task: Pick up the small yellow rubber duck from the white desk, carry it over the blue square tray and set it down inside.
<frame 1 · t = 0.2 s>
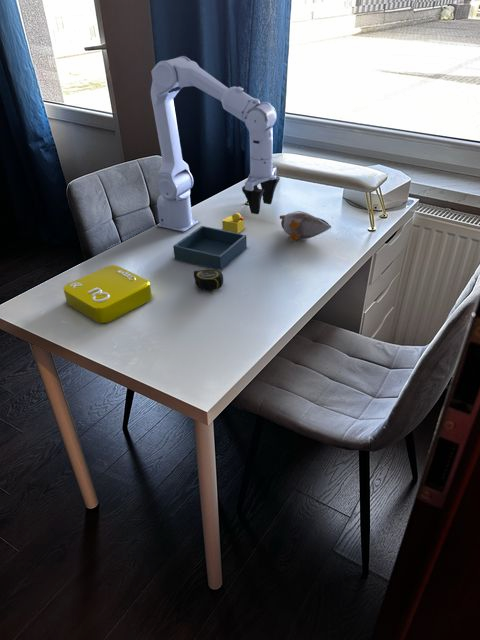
hand: (261, 208, 136), 10 cm above the table, tool pointing down, fingers open, 7 cm apart
rubber duck: (233, 229, 148), on the table
blue square tray: (211, 253, 136), on the table
decorative duck model: (303, 235, 146), on the table
tape measure: (208, 286, 123), on the table
element tile: (110, 301, 118), on the table
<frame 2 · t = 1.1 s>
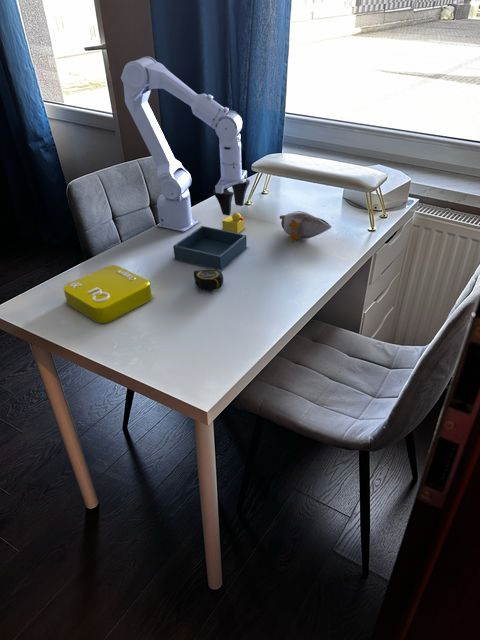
hand: (232, 209, 144), 6 cm above the table, tool pointing down, fingers open, 7 cm apart
nothing on the table moved.
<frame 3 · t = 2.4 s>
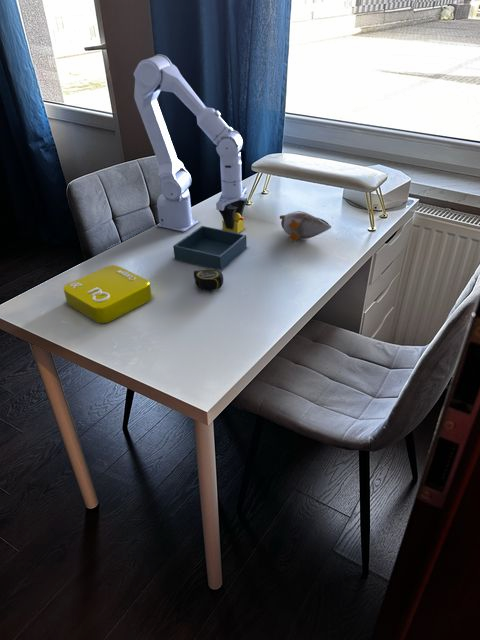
hand: (233, 225, 147), 1 cm above the table, tool pointing down, fingers closed on rubber duck, 4 cm apart
rubber duck: (233, 229, 148), on the table, touching gripper
everything else where it was.
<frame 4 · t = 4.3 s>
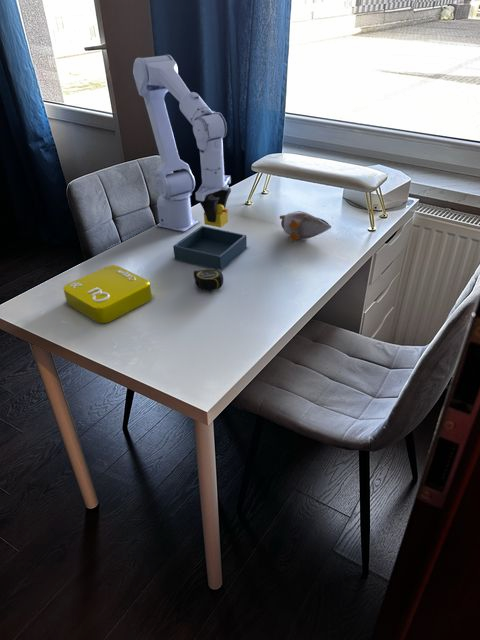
hand: (215, 218, 134), 8 cm above the table, tool pointing down, fingers closed on rubber duck, 4 cm apart
rubber duck: (216, 223, 135), point 7 cm above the table, touching gripper
everything else where it was.
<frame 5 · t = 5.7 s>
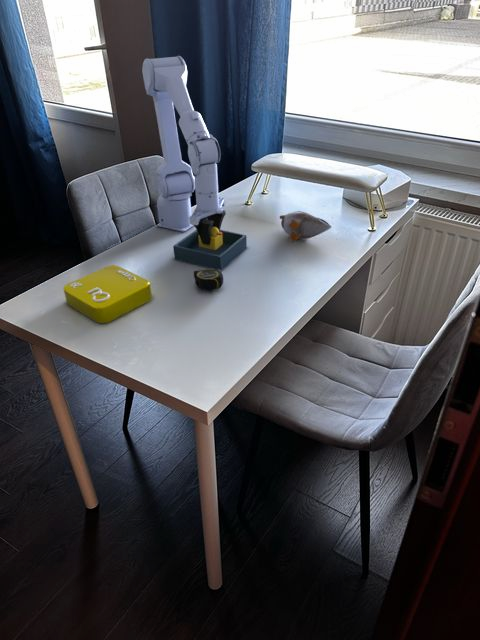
hand: (210, 240, 134), 4 cm above the table, tool pointing down, fingers closed on rubber duck, 4 cm apart
rubber duck: (211, 245, 135), point 2 cm above the table, touching gripper
everything else where it was.
when the fingers open (2 cm above the table, at t = 6.7 s): rubber duck stays where it is, resting on blue square tray.
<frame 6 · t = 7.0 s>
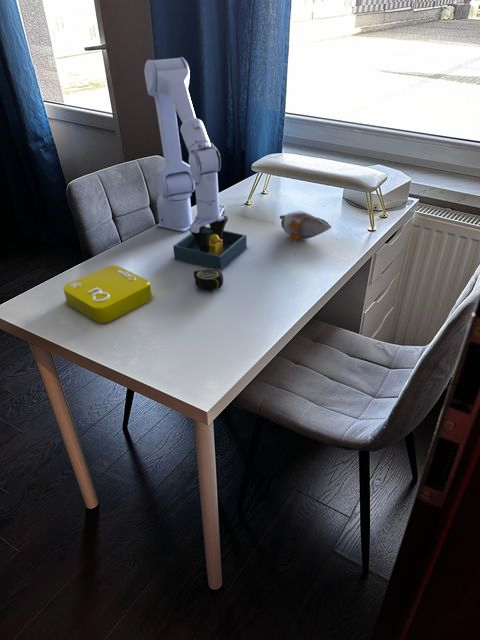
hand: (210, 247, 135), 2 cm above the table, tool pointing down, fingers open, 6 cm apart
rubber duck: (211, 252, 136), resting on blue square tray
everything else where it was.
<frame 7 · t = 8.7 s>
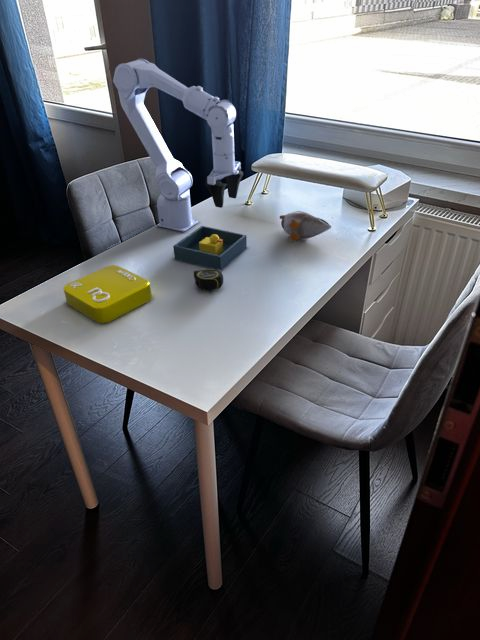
hand: (225, 202, 141), 9 cm above the table, tool pointing down, fingers open, 7 cm apart
nothing on the table moved.
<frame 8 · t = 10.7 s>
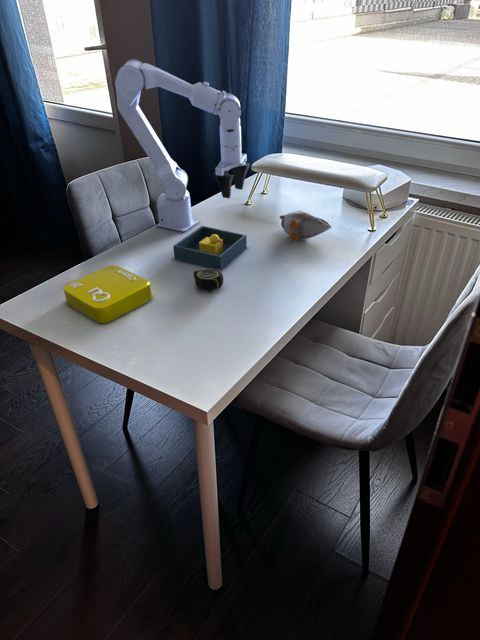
hand: (232, 193, 146), 9 cm above the table, tool pointing down, fingers open, 7 cm apart
nothing on the table moved.
at the end: rubber duck inside the target area in the blue square tray (0.1 cm from its centre), point 0.4 cm above the blue square tray's base; rubber duck tilted 0° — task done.
